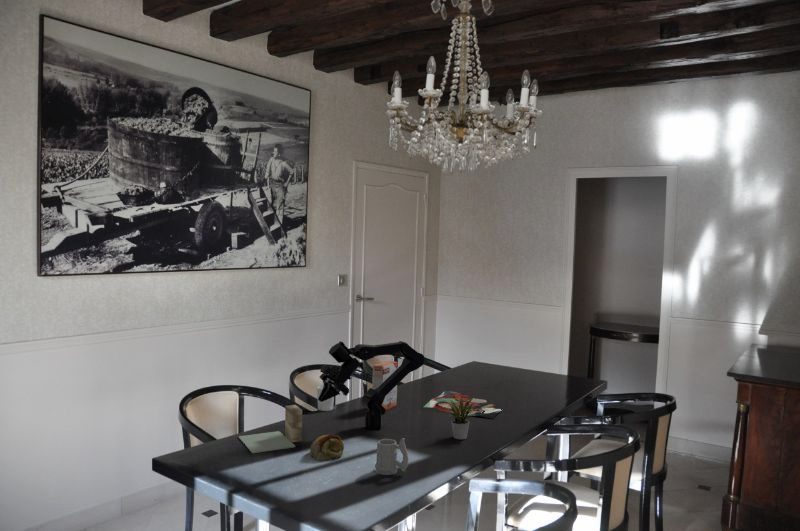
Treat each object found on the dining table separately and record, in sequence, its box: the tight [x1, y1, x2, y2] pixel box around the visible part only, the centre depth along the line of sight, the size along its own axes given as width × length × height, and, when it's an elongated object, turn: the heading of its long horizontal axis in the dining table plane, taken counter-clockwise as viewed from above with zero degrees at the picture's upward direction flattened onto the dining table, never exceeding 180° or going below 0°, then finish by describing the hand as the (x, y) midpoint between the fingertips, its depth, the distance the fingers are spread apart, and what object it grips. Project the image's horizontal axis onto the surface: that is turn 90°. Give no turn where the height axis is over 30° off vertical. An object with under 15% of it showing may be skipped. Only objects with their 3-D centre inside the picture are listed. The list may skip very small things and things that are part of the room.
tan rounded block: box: [284, 404, 303, 443], centre depth 238 cm, size 4×8×12 cm, turn 28°
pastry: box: [309, 433, 345, 462], centre depth 221 cm, size 14×12×8 cm
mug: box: [374, 437, 409, 476], centre depth 204 cm, size 8×12×12 cm, turn 63°
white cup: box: [316, 384, 335, 412], centre depth 281 cm, size 8×8×10 cm
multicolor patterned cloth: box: [423, 390, 502, 420], centre depth 292 cm, size 35×35×2 cm
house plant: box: [445, 396, 477, 440], centre depth 243 cm, size 14×14×16 cm
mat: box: [238, 430, 296, 454], centre depth 233 cm, size 16×20×1 cm
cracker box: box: [371, 360, 399, 411], centre depth 284 cm, size 14×6×21 cm, turn 151°
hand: (319, 400), depth 243 cm, fingers closed
